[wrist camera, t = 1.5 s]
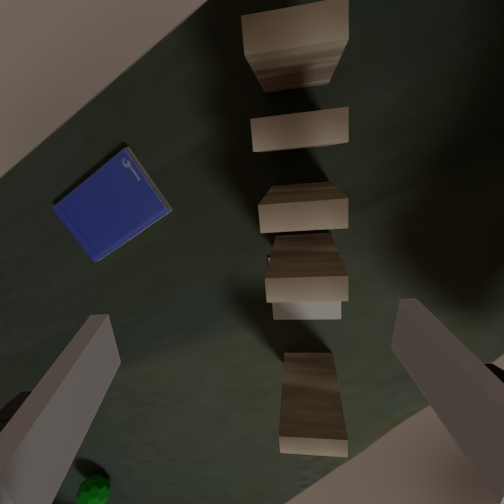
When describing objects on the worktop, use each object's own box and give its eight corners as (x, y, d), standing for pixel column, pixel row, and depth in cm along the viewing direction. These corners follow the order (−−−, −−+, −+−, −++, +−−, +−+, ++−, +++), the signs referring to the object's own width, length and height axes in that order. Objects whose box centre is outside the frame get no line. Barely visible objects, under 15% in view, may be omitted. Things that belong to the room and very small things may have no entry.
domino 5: (332, 366, 38) (347, 457, 27) (285, 365, 39) (280, 452, 28) (332, 353, 37) (347, 440, 26) (284, 352, 38) (278, 436, 27)
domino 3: (330, 200, 31) (348, 228, 20) (273, 204, 32) (260, 233, 21) (329, 181, 31) (348, 198, 20) (272, 186, 32) (257, 205, 21)
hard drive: (123, 146, 32) (50, 207, 35) (169, 211, 33) (94, 263, 37) (131, 146, 33) (60, 205, 37) (174, 209, 35) (102, 259, 38)
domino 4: (330, 250, 33) (348, 301, 22) (277, 252, 34) (266, 302, 23) (330, 232, 33) (348, 275, 21) (275, 235, 34) (264, 278, 22)
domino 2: (329, 145, 30) (348, 141, 19) (269, 151, 31) (253, 151, 20) (328, 124, 29) (348, 106, 18) (267, 131, 30) (250, 118, 19)
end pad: (340, 317, 36) (341, 319, 35) (273, 318, 37) (273, 319, 37) (340, 254, 33) (340, 255, 33) (268, 257, 34) (268, 258, 34)
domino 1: (328, 84, 28) (348, 39, 17) (265, 92, 29) (244, 55, 18) (327, 59, 28) (348, -4, 16) (263, 69, 29) (240, 15, 17)
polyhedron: (114, 491, 52) (97, 523, 48) (88, 482, 53) (69, 513, 48) (117, 472, 51) (99, 503, 46) (90, 463, 51) (70, 493, 46)
